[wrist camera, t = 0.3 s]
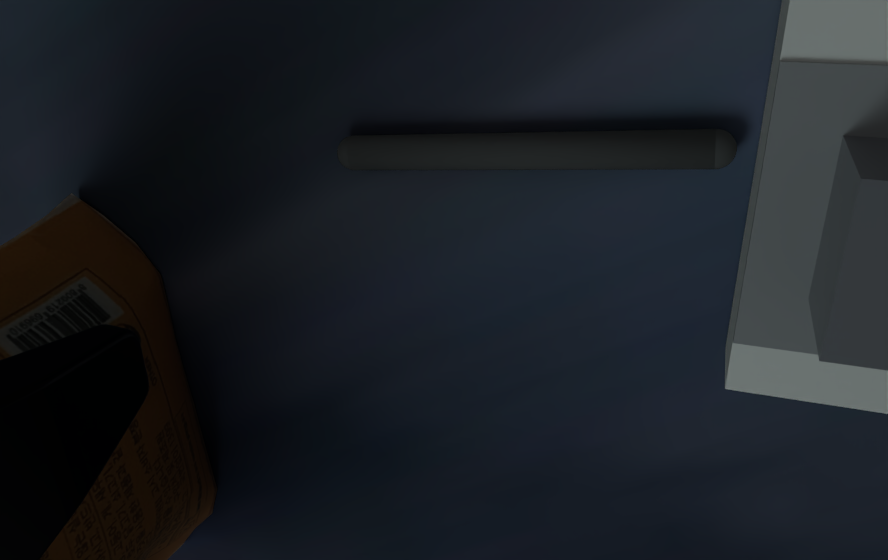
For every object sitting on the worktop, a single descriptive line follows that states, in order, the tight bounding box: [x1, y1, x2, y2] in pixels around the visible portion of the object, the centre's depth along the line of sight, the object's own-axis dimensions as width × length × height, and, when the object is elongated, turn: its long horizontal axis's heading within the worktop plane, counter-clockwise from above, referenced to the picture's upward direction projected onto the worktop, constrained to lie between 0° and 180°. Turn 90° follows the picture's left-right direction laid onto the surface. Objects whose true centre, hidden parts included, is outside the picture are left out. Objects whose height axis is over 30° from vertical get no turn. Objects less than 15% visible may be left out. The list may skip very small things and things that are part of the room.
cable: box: [337, 129, 737, 170], centre depth 21 cm, size 11×1×1 cm, turn 97°
